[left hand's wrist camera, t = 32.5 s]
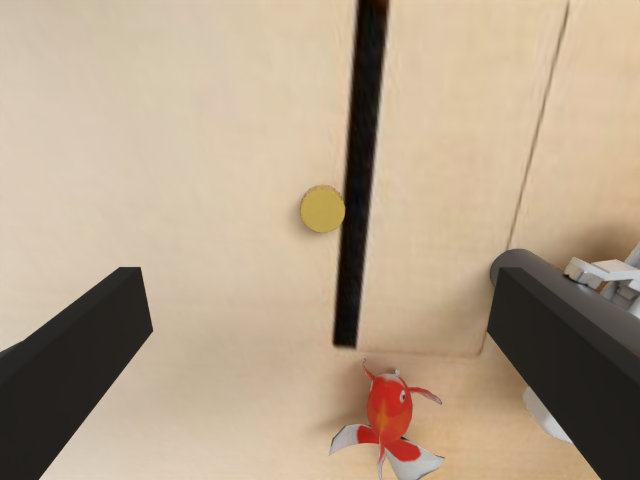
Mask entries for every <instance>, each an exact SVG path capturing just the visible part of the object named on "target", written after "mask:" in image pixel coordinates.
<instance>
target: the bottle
mask: <svg viewBox="0 0 640 480" xmlns="http://www.w3.org/2000/svg"><path fill="white" fill-rule="evenodd" d="M499 267H521V268H522V269H524V270H525V271H526V272H527V273H529V274H530V275H531V276H533V277H534V278H535V279H537V280H538V281H539V282H541V283H542V284H543V285H545V286H546V287H547V288H548V289H550V290H551V291H552V292H554V293H555V294H556V295H558V296H559V297H560V298H562V299H563V300H564V301H565V302H567V303H568V304H569V305H571V306H572V307H573V308H575V309H576V310H577V311H579V312H580V313H581V314H583V315H584V316H585V317H586V318H588V319H589V320H590V321H592V322H593V323H594V324H596V325H597V326H598V327H600V328H601V329H602V330H603V331H605V332H606V333H607V334H609V335H610V336H611V337H613V338H614V339H615V340H620V341H622V342H624V343H626V344H628V345H630V346H631V347H633V348H635V349H637V350H639V351H640V318H638V317H636V316H635V315H633V314H631V313H630V312H628V311H627V310H625V309H623V308H622V307H620V306H618V305H617V304H615V303H613V302H612V301H610V300H608V299H607V298H605V297H604V296H602V295H600V294H599V293H597V292H595V291H594V290H592V289H590V288H589V287H587V286H586V285H583V284H581V283H578V282H576V281H575V280H573V279H571V278H569V276H566V275H565V274H563V271H561V270H559V269H558V268H556V267H554V266H553V265H551V264H549V263H548V262H546V261H545V260H543V259H541V258H540V257H538V256H536V255H535V254H533V253H531V252H530V251H528V250H524V249H513V250H509V251H507V252H505V253H503V254H501V255H500V256H499V257H498V258H497V259H496V260H495V261H494V263H493V265H492V267H491V271H490V278H491V282H492V284H493V285H494V286H495V287H496V282H497V277H498V272H499Z"/></svg>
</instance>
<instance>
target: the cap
mask: <svg viewBox="0 0 640 480" xmlns="http://www.w3.org/2000/svg"><path fill="white" fill-rule="evenodd" d="M300 210H301V217H302V220H303V222H304V223H305V225H306V226H307V227H308V228H310V229H311V230H313V231H316V232H320V233H325V232H330V231H332V230H334V229H336V228H337V227H338V226H339V225H340V224H341V222H342V221H343V218H344V215H345V205H344V201H343V198H342V197H341V195H340V193H339V192H338V191H337V190H335V188H332V187H330V186H325V185H320V186H315V187H313V188H312V189H310V190H309V191H308V192H307V193H305V196H304V198H303V199H302V205H301V208H300Z"/></svg>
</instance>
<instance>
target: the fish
mask: <svg viewBox="0 0 640 480" xmlns="http://www.w3.org/2000/svg"><path fill="white" fill-rule="evenodd" d="M364 362H365V359H363V360H362V366H363V363H364ZM363 369H364V371H365V373H366V375H367V377H368V378H369V379H370V380H372V381H373V382H372V383H371V385H370V394H369V399H368V404H367V412H368V420H369V423H370V425H364V424H353V425H348V426H344V427H343V429H342V430H341V431H340V432H339V433H338V434H337V435H336V436H335V437H334V438H333V440H332V444H331V448H330V452H329V456H330V455H331V454H332V453H334V452H336V451H337V450H340V449H342V448H344V447H347V446H350V445H354V444H360V443H376V444H380V451H379V459H378V462H377V469H378V475H379V478H380V480H382V464H383V462H384V460H385V452H386V455H387V457H388V459H389V462H390V464H391V466H392V468H393V470H394V472H395V474H396V476H397V478H398V480H419V479H420V478H422V477H424V476H425V475H427V474H428V473H430V472H432V471H434V470H436V469H438V468H439V467H440V465H441V463H442V462H443V460H444V457H440V456H437V455H434V454H432V453H431V452H429V451H427V450H425V449H423V448H422V447H420V446H418V445H416V444H414V443H413V442H411V441H409V440H407V439H405V438H404V437H402V435H403V434H404V433H405V432H406V430H407V428H408V426H409V424H410V421H411V418H412V400H411V395H410V393H420V394H422V395H424V396H425V397H427V398H429V399H432V400H434V401H436V402H438V403H439V404H442V402H441V401H440V399H439V398H438V397H436V396H435V395H433V394H432V393H431V392H429V391H427V390H425V389H421V388H418V387H407V385H406V384H405V382H404V381H403V380H402V379H401V378H400V377H399V375H400V371H399V370H397V369H395V374H389V373H383V374H380V375H378V376H376V377H375V376H373V375H372V374H371V373H370V372H369V371H368V370H367V369H366V368H365V367H364V366H363Z"/></svg>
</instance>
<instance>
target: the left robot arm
mask: <svg viewBox="0 0 640 480" xmlns="http://www.w3.org/2000/svg"><path fill="white" fill-rule="evenodd" d="M152 332H153V327H152V322H151V317H150V312H149V307H148V302H147V297H146V292H145V287H144V282H143V277H142V272H141V267H119V268H118V269H116V270H115V271H114V272H113V273H111V274H110V275H109V276H107V277H106V278H105V279H103V280H102V281H101V282H99V283H98V284H97V285H95V286H94V287H93V288H92V289H90V290H89V291H88V292H86V293H85V294H84V295H82V296H81V297H80V298H78V299H77V300H76V301H75V302H73V303H72V304H71V305H69V306H68V307H67V308H65V309H64V310H63V311H61V312H60V313H59V314H57V315H56V316H55V317H54V318H52V319H51V320H50V321H48V322H47V323H46V324H44V325H43V326H42V327H40V328H39V329H38V330H37V331H35V332H34V333H33V334H31V335H30V336H29V337H27V338H26V339H25V340H23V341H21V342H19V343H17V344H15V345H13V346H11V347H9V348H8V349H6V350H4V351H2V352H0V480H39V479H40V477H41V476H42V475H43V474H44V472H45V471H46V470H47V468H48V467H49V466H50V464H51V463H52V462H53V461H54V459H55V458H56V457H57V455H58V454H59V453H60V451H61V450H62V449H63V448H64V446H65V445H66V444H67V442H68V441H69V440H70V438H71V437H72V436H73V435H74V433H75V432H76V431H77V429H78V428H79V427H80V425H81V424H82V423H83V422H84V420H85V419H86V418H87V416H88V415H89V414H90V412H91V411H92V410H93V409H94V407H95V406H96V405H97V403H98V402H99V401H100V399H101V398H102V397H103V396H104V394H105V393H106V392H107V390H108V389H109V388H110V386H111V385H112V384H113V383H114V381H115V380H116V379H117V377H118V376H119V375H120V373H121V372H122V371H123V370H124V368H125V367H126V366H127V364H128V363H129V362H130V360H131V359H132V358H133V357H134V355H135V354H136V353H137V351H138V350H139V349H140V347H141V346H142V345H143V344H144V342H145V341H146V340H147V338H148V337H149V336H150V334H151V333H152ZM487 332H488V333H489V334H490V336H491V337H492V338H493V340H494V341H495V342H496V344H497V345H498V346H499V347H500V349H501V350H502V351H503V353H504V354H505V355H506V357H507V358H508V359H509V360H510V362H511V363H512V364H513V366H514V367H515V368H516V370H517V371H518V372H519V373H520V375H521V376H522V377H523V379H524V380H525V381H526V383H527V384H528V385H529V386H530V388H531V389H532V390H533V392H534V393H535V394H536V396H537V397H538V398H539V399H540V401H541V402H542V403H543V405H544V406H545V407H546V409H547V410H548V411H549V412H550V414H551V415H552V416H553V418H554V419H555V420H556V422H557V423H558V424H559V425H560V427H561V428H562V429H563V431H564V432H565V433H566V435H567V436H568V437H569V438H570V440H571V441H572V442H573V444H574V445H575V446H576V448H577V449H578V450H579V451H580V453H581V454H582V455H583V457H584V458H585V459H586V461H587V462H588V463H589V464H590V466H591V467H592V468H593V470H594V471H595V472H596V474H597V475H598V476H599V477H600V479H601V480H640V351H639V350H637V349H635V348H633V347H631V346H630V345H628V344H626V343H624V342H622V341H620V340H615V339H614V338H613V337H611V336H610V335H609V334H607V333H606V332H605V331H603V330H602V329H601V328H600V327H598V326H597V325H596V324H594V323H593V322H592V321H590V320H589V319H588V318H586V317H585V316H584V315H583V314H581V313H580V312H579V311H577V310H576V309H575V308H573V307H572V306H571V305H569V304H568V303H567V302H565V301H564V300H563V299H562V298H560V297H559V296H558V295H556V294H555V293H554V292H552V291H551V290H550V289H548V288H547V287H546V286H545V285H543V284H542V283H541V282H539V281H538V280H537V279H535V278H534V277H533V276H531V275H530V274H529V273H527V272H526V271H525V270H524V269H522V268H521V267H499V272H498V277H497V282H496V287H495V292H494V297H493V302H492V307H491V312H490V317H489V322H488V327H487Z"/></svg>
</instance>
